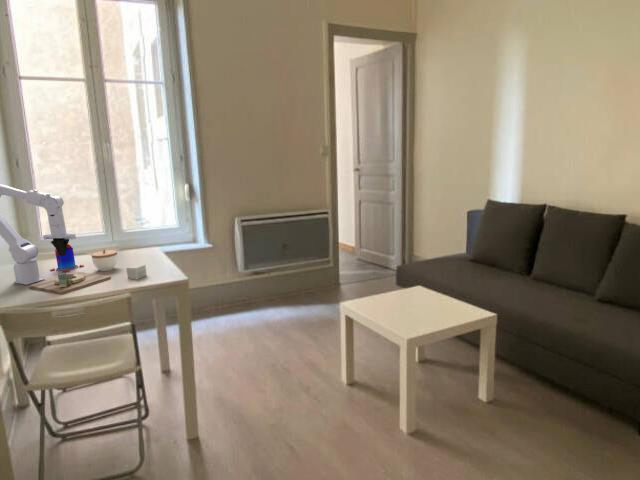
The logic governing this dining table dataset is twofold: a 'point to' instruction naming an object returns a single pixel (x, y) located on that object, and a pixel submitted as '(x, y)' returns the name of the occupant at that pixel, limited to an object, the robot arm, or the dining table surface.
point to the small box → (136, 271)
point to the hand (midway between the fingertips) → (62, 255)
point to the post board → (69, 283)
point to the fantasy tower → (66, 261)
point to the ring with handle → (64, 282)
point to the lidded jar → (105, 260)
